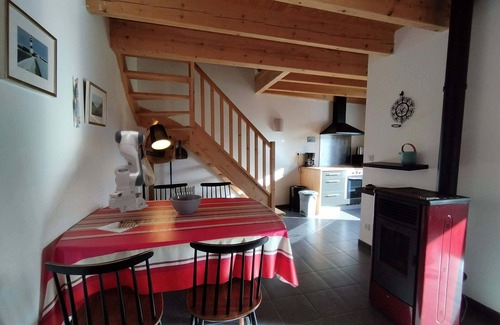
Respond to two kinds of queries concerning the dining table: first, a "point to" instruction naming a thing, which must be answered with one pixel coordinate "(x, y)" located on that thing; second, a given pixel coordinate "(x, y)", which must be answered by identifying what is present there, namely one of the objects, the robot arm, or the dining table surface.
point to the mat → (115, 227)
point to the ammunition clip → (127, 223)
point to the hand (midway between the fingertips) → (123, 212)
